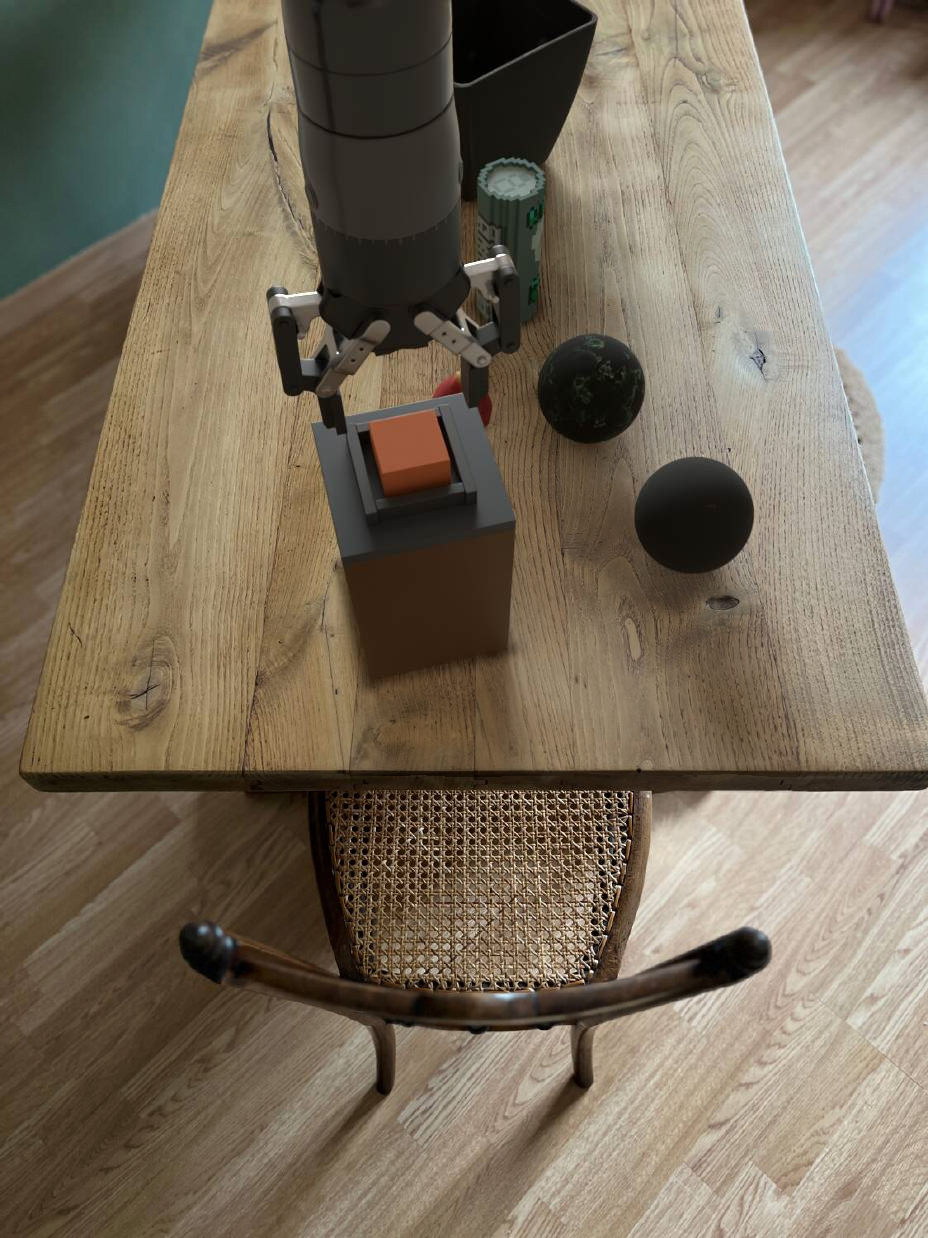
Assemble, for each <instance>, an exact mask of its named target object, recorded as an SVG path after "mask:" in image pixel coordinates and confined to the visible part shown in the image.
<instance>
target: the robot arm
mask: <svg viewBox="0 0 928 1238" xmlns="http://www.w3.org/2000/svg"><path fill="white" fill-rule="evenodd" d="M280 7H281V17H282V23H283V25H282V26H283V31H284V39H285V45H286V50H287V55H288V61H289V67H290V72H291V73H290V74H291V79H292V85H293V91H294V95H295V103H296V105H295V106H296V111H297V112H296V114H297V139H298V141H297V142H298V150H299V158H300V163H301V170H302V174H303V180H304V192H305V197H306V199H307V202H308V208H309V212H310V220H311V225H312V231H313V236H314V242H315V243H314V244H315V248H316V253H317V260H318V264H319V271H320V281H319V283H318V286H317V288H316V290H315V291H313V292H305V293H297V294H290V295H289V291H288V289H287V288H286V287H285V286H282V285H273V286H270V287H269V288H268V289H267V291H266V293H265V296H266V297H265V298H266V303H267V308H268V314H269V315H268V316H269V320H270V326H271V333H272V337H273V338H272V339H273V344H274V350H275V355H276V362H277V367H278V369H279V374H280V379H281V386H282V390H283V393H284V394H285V395H286V396H289V397H298V396H301V395H302V394H303V393H304V392H310V393H313V394H314V395H315V396H316V398H317V402H318V403H317V404H318V407H319V412H320V416H321V421H323V425H324V426H325V427H326V428H327V429H331V428H335V429H336V433H337V435H342V434H347V433H348V431H347V425H346V420H345V416H346V414H345V410H344V404H343V403H344V402H343V399H342V394H341V393H342V392H341V389H340V387H341V386H342V384H343V383H344V382H345V381H346V379H347V377H348V376H352V377H353V376H355V375H356V374H357V372H358V371H359V369H361V367H362V365H363V364H364V363H365V362H366V360H367V358H368V357H369V356H370V355H371V353H372V354H374V356H375V357H376V358H378V357H382V356H388V355H390V354H393V353H395V352H398V351H400V350H419V349H424V348H428V347H429V343H430V342H432V341H434V340H435V341H436V342H437V343H438V344H440V345H441V346H442V347H443V348H445V349H446V350H447V351H449V352H450V353H451V354H452V355H454V356H455V357H456V356H458V355H459V357H460V360H459V361H460V363H459V364H460V365H459V366H460V372H461V388H462V392H463V395H464V398H465V401H466V404H467V407H468V409H470V408H475V407H479V406H480V398H485V397H486V396H487V394H489V391H490V363H491V362H492V360H493V358H494V357H495V356H496V355H498V354H501V353H503V354H505V355H513V354H515V353H517V352H518V351H519V350H520V349H521V347H522V328H521V327H522V326H521V325H522V323H521V319H520V279H519V276H518V274H517V271H516V269H515V266H514V264H513V262H512V259H511V257H510V254H509V252H508V249H507V248H506V247H505V246H503V245H497V246H494V247H493V248H491V249H490V250H489V252H488V255H487V259H488V260H484V261H480V262H477V261H475V262H471V263H467V264H465V263H464V262H463V261H462V260H463V255H462V253H463V251H462V249H463V248H462V246H463V245H462V199H461V181H462V179H463V163H462V160H461V156H460V137H459V127H458V120H457V114H456V108H455V101H454V88H453V49H452V6H451V0H280ZM472 289H476V290H477V289H478V290H480V291H481V293H482V296H483V297H484V298H485V299H486V300H490V312H491V320H490V321H489V322H488V323H485V324H483V325H482V326H480V325H479V324H478V323H476V322H475V321H474V320H473V319H472V318H470V317H469V316H468V315H467V314H466V313H465V312H464V310H463V309H462V308H461V307H462V306H463V304H464V303H465V301H466V300H467V299H468V298H469V296H470V294H471V290H472ZM319 317H320V318H321V319H322V321H323V322H324V323H325V324H327V325H326V326H325V329H324V332H323V338H322V340H321V341H320V343H319V344H318V346H317V348H316V349H315V351H314V352H313V353H312V355H311V356H310V358H301V354H300V347H299V341H302V340H304V339H305V338H306V334H307V333H308V332H309V331H310V327H311V326H310V325H311V323H312V321H313V320H315V319H316V318H319Z"/></svg>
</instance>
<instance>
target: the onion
mask: <svg viewBox="0 0 928 1238" xmlns="http://www.w3.org/2000/svg"><path fill="white" fill-rule="evenodd" d="M459 393H463V392H462V388H461V370H459V371H456V372H455V374H454V375H451V376H449V377H447V378H446V379H443V381H441V382H440V384H438V386H437V387H436V388H435V390H434V392H433V394H432V397H431V399H434V398H439V397H444V396H449V395H454V394H459ZM478 410H479V413H480V416H481V419H482V422H483V425H484V428H485V429H486V428H487V427H488V426H489V425H490V424H491V418H492V413H493V401H492V399H491V397H490V393H488V394H487V396H486V397H485V398H480V406H479V407H478Z"/></svg>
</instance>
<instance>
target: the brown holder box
mask: <svg viewBox="0 0 928 1238" xmlns="http://www.w3.org/2000/svg"><path fill="white" fill-rule="evenodd" d="M428 410H434V411H435V414H436V417H437V421H438V424H439V427H440V430H441V433H442V436H443V439H444V443H445V446H446V449H447V452H448V455H449V458H450V473H451V485H448V486H443V487H439V488H434V489H429V490H424V491H420V492H415V493H410V494H405V495H400V496H396V497H391V498H386V499H385V496H384V492H383V489H382V485H381V481H380V477H379V474H378V470H377V466H376V462H375V459H374V455H373V451H372V445H371V438H370V432H369V425H368V424H369V422H374V421H379V420H384V419H389V418H394V417H399V416H404V415H409V414H414V413H419V412H423V411H428ZM345 420H346V425H347V431H348V433H347V434H342V435H337V433H336V429H335V428H331V429H327V428H326V427H325V426H324V425H323V421H322V420H319V421H314V422H311V423H310V426H311V431H312V435H313V439H314V444H315V449H316V454H317V458H318V462H319V466H320V471H321V474H322V479H323V484H324V488H325V493H326V498H327V501H328V507H329V511H330V515H331V520H332V524H333V528H334V533H335V537H336V542H337V547H338V552H339V556H340V559H341V564H342V569H343V572H344V577H345V581H346V585H347V590H348V593H349V598H350V602H351V607H352V611H353V615H354V621H355V624H356V627H357V632H358V637H359V642H360V645H361V648H362V653H363V658H364V662H365V666H366V671H367V674H368V680H369V681H370V682H373V681H376V680H381V679H387V678H389V677H395V676H399V675H402V674H408V673H412V672H415V671H416V672H417V671H420V670H424V669H430V668H433V667H437V666H443V665H446V664H451V663H454V662H460V661H463V660H469V659H472V658H476V657H480V656H484V655H489V654H493V653H494V654H495V653H498V652H502V651H507V650H508V649H509V634H510V622H511V620H510V619H511V605H512V591H513V577H514V575H513V574H514V561H515V547H516V546H515V545H516V534H517V533H516V530H517V518H516V516H515V512H514V509H513V506H512V503H511V501H510V498H509V495H508V492H507V489H506V486H505V483H504V481H503V478H502V474H501V471H500V469H499V466H498V462H497V459H496V457H495V453H494V451H493V448H492V445H491V442H490V440H489V437H488V434H487V431H486V428H484V425H483V422H482V419H481V416H480V413H479V410H478V407H475V408H470V409H468V407H467V404H466V401H465V398H464V395H463V393H459V394H454V395H449V396H444V397H439V398H434V399H432V398H430V399H424V400H420V401H419V400H418V401H415V402H410V403H405V404H400V405H399V404H398V405H394V406H389V407H385V408H380V409H379V408H378V409H375V410H369V411H365V412H360V413H354V414H350V415H349V414H348V415H345Z"/></svg>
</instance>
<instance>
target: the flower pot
mask: <svg viewBox="0 0 928 1238" xmlns="http://www.w3.org/2000/svg"><path fill="white" fill-rule="evenodd" d="M451 6H452V49H453V88H454V101H455V108H456V114H457V120H458V127H459V137H460V156H461V160H462V163H463V179H462V181H461V201H464V202H467V203H469V202H470V203H472V202H475V201H477V178H478V177H479V174H480V170H482V169H484V168H485V165H486V164H489V163H491V162H494V161H497V160H499V159H502V158H504V159H505V160H507V159H510V158H512V157H513V158H514V159H518V158H519V159H520V160H524V159H526V160H527V161H528V162H529V163H532V162H534V163H535V164H536V165H537V166H538V167H539V166H541V165H542V164H544V163H546V162H547V160H548V158H549V157H550V155H551V153H552V151H553V149H554V147H555V145H556V143H557V141H558V139H559V136H560V134H561V132H562V130H563V128H564V126H565V123H566V122H567V118H568V116H569V114H570V111H571V109H572V106H573V104H574V101H575V98H576V97H577V94H578V90H579V87H580V85H581V82H582V79H583V76H584V73H585V70H586V66H587V63H588V59H589V57H590V53H591V50H592V46H593V42H594V38H595V35H596V29H597V27H598V26H597V25H598V21H599V15H597V13H595V12H594V11H592V10H591V9H590V8H588V7H586V6H585V5H583V4H582V3H580V2H578V1H577V0H451Z"/></svg>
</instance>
